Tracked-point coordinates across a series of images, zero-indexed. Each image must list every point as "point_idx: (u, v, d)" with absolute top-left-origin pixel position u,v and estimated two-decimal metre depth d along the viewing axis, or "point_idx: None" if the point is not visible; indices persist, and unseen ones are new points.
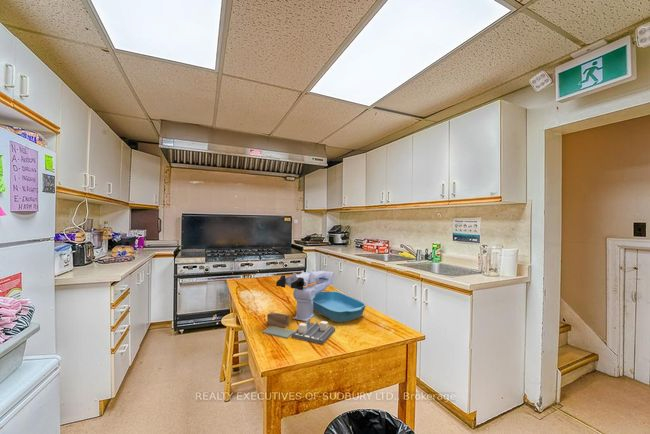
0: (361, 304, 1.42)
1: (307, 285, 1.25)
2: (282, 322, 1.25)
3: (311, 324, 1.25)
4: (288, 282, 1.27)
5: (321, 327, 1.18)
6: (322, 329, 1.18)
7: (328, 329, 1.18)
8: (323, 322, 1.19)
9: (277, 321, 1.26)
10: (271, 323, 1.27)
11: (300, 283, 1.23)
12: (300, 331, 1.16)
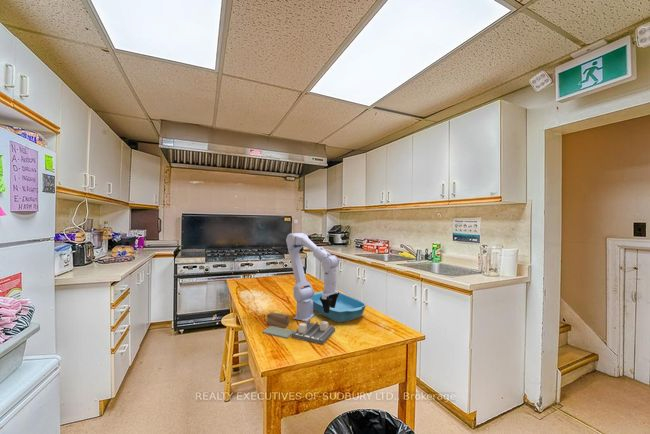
0: (361, 304, 1.43)
1: None
2: (282, 322, 1.25)
3: (311, 324, 1.25)
4: None
5: (321, 327, 1.18)
6: (322, 329, 1.18)
7: (328, 329, 1.18)
8: (323, 322, 1.19)
9: (277, 321, 1.26)
10: (271, 323, 1.27)
11: None
12: (300, 331, 1.16)
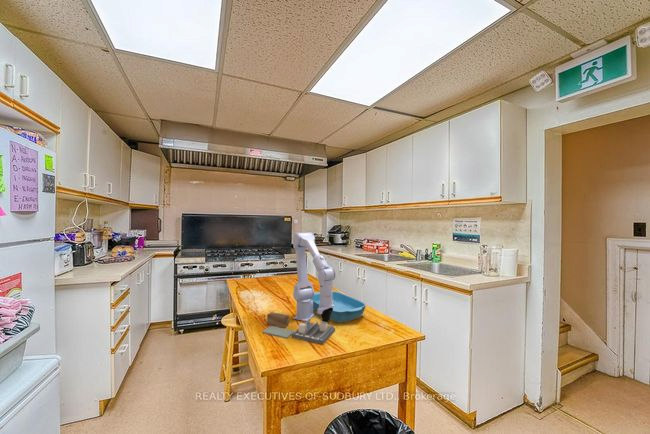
0: (361, 304, 1.43)
1: None
2: (282, 322, 1.25)
3: (311, 324, 1.25)
4: (323, 309, 1.19)
5: (321, 328, 1.18)
6: (322, 329, 1.18)
7: (328, 329, 1.18)
8: (323, 322, 1.19)
9: (277, 321, 1.26)
10: (271, 323, 1.27)
11: None
12: (300, 331, 1.16)
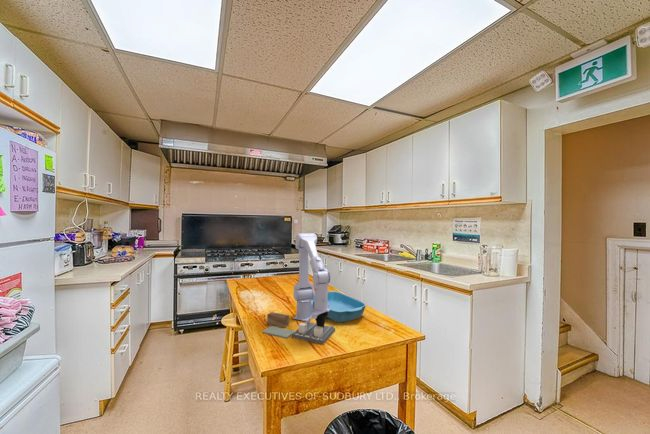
0: (361, 304, 1.42)
1: None
2: (282, 322, 1.25)
3: (311, 324, 1.25)
4: None
5: (315, 333, 1.13)
6: (316, 335, 1.13)
7: (328, 329, 1.18)
8: (317, 327, 1.14)
9: (277, 321, 1.26)
10: (271, 323, 1.27)
11: None
12: (300, 331, 1.16)
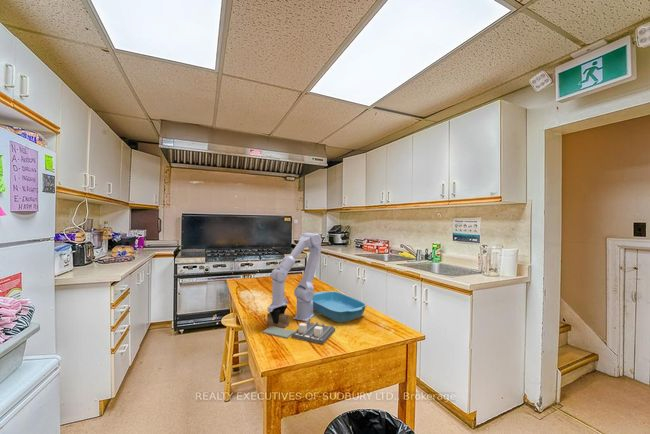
0: (361, 304, 1.43)
1: None
2: (282, 322, 1.25)
3: (311, 324, 1.25)
4: None
5: (315, 333, 1.13)
6: (316, 335, 1.13)
7: (328, 329, 1.18)
8: (317, 327, 1.14)
9: None
10: (271, 323, 1.27)
11: None
12: (300, 331, 1.16)
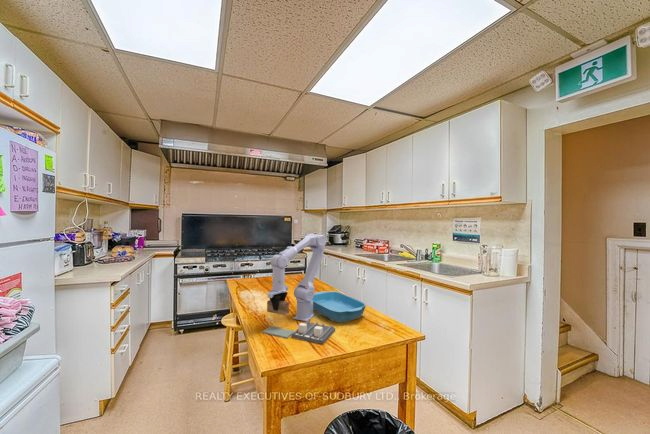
0: (361, 304, 1.42)
1: (285, 286, 1.33)
2: (282, 308, 1.23)
3: (311, 324, 1.25)
4: None
5: (315, 333, 1.13)
6: (316, 335, 1.13)
7: (328, 329, 1.18)
8: (317, 327, 1.14)
9: None
10: (271, 310, 1.25)
11: None
12: (300, 331, 1.16)
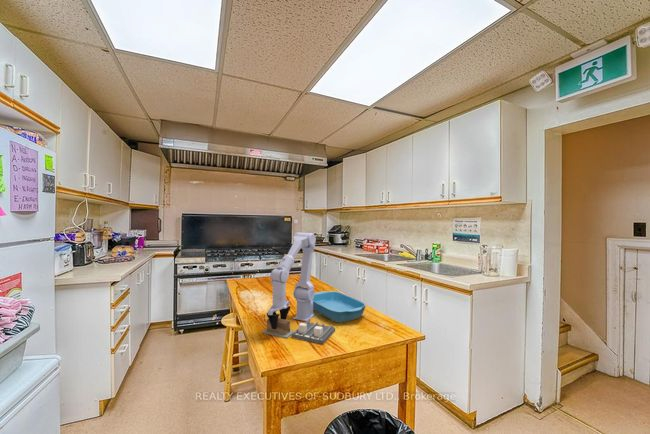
0: (361, 304, 1.42)
1: None
2: (283, 328, 1.16)
3: (311, 324, 1.25)
4: (275, 310, 1.17)
5: (315, 333, 1.13)
6: (316, 335, 1.13)
7: (328, 329, 1.18)
8: (317, 327, 1.14)
9: (277, 327, 1.18)
10: (271, 329, 1.19)
11: None
12: (300, 331, 1.16)
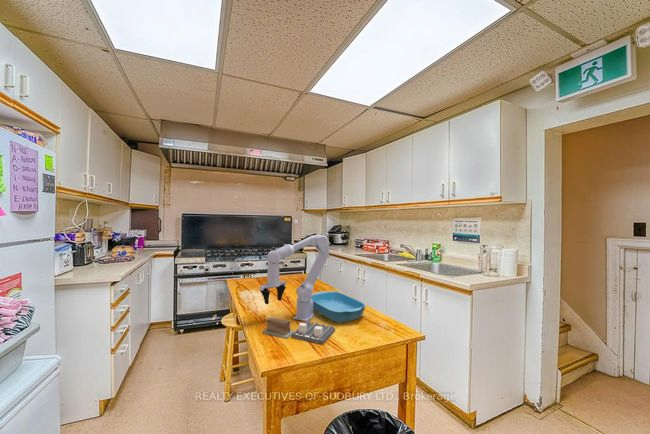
0: (361, 304, 1.42)
1: (283, 281, 1.38)
2: (283, 328, 1.16)
3: (311, 324, 1.25)
4: None
5: (315, 333, 1.13)
6: (316, 335, 1.13)
7: (328, 329, 1.18)
8: (317, 327, 1.14)
9: (277, 327, 1.18)
10: (271, 329, 1.19)
11: None
12: (300, 331, 1.16)
